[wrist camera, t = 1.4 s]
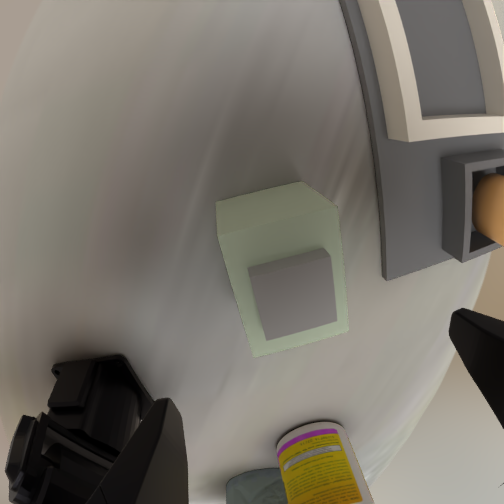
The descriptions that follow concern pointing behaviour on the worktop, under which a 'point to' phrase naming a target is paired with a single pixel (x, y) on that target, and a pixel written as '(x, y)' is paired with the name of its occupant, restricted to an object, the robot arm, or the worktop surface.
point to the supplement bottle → (321, 466)
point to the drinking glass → (257, 488)
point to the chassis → (430, 121)
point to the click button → (489, 207)
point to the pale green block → (284, 266)
